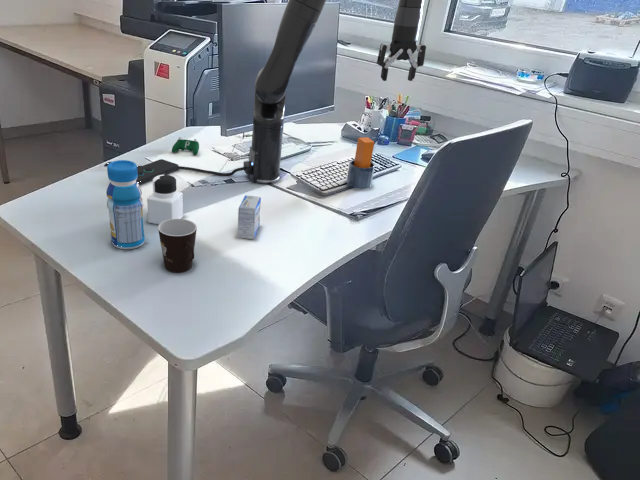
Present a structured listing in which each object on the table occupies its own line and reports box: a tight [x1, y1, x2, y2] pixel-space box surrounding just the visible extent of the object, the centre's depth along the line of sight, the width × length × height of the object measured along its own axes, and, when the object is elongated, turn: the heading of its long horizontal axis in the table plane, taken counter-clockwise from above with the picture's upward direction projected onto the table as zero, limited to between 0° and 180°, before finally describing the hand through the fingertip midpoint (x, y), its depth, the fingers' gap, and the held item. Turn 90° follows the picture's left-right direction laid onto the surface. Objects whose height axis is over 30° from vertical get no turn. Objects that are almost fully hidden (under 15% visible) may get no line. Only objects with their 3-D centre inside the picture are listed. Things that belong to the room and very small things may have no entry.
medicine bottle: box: [146, 174, 184, 225], centre depth 146 cm, size 7×7×12 cm
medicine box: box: [237, 195, 262, 240], centre depth 143 cm, size 8×4×9 cm, turn 168°
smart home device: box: [136, 158, 179, 186], centre depth 174 cm, size 8×2×20 cm
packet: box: [354, 136, 375, 168], centre depth 171 cm, size 3×5×14 cm
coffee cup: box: [346, 159, 376, 190], centre depth 173 cm, size 8×8×7 cm
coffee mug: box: [157, 218, 198, 274], centre depth 125 cm, size 12×9×10 cm
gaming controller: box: [171, 136, 200, 156], centre depth 193 cm, size 9×4×6 cm
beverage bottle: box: [105, 159, 146, 250], centre depth 132 cm, size 8×8×20 cm
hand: (397, 80), depth 174 cm, fingers open, 8 cm apart
